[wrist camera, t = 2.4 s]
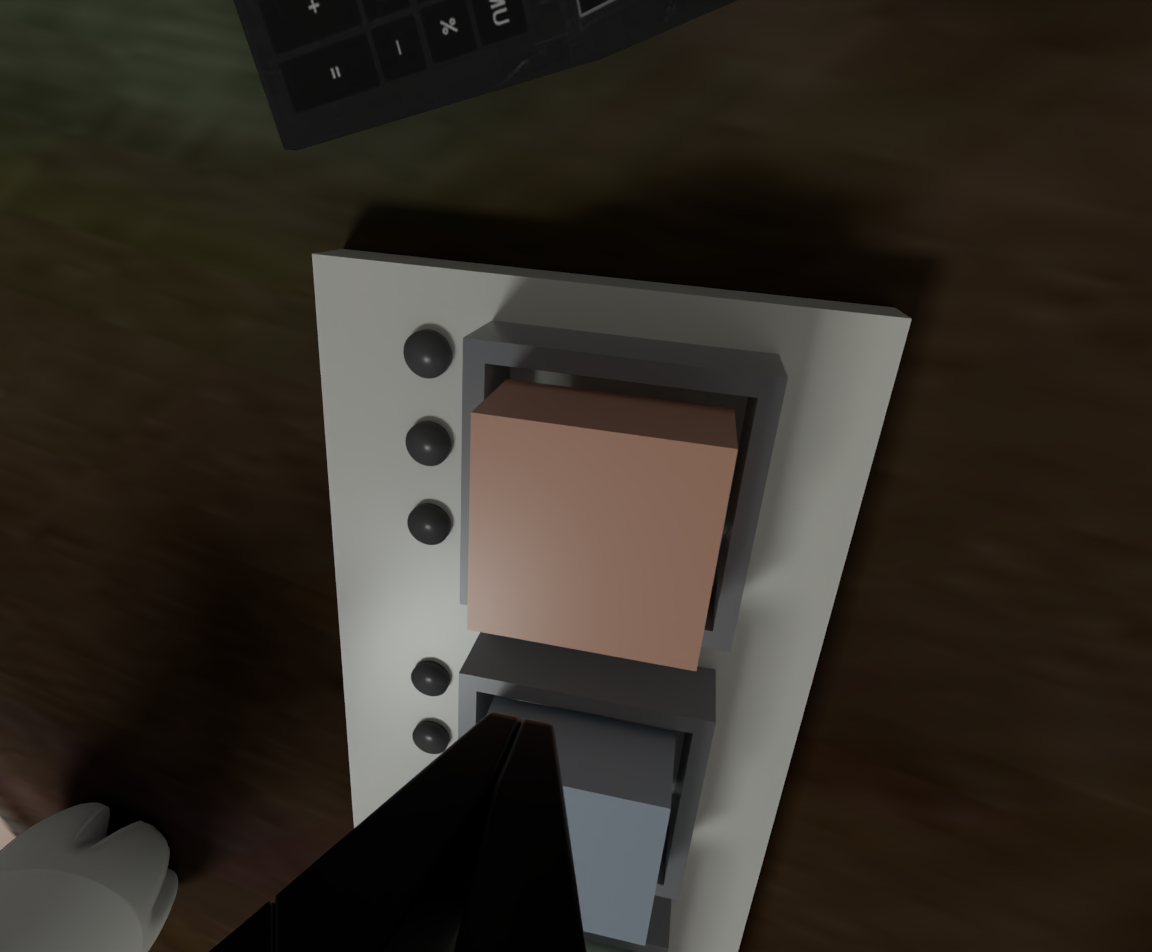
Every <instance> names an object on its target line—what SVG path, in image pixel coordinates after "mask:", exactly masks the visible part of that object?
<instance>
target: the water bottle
mask: <svg viewBox="0 0 1152 952" xmlns="http://www.w3.org/2000/svg"><path fill="white" fill-rule="evenodd" d="M109 819H110V809H109V807H108V806H106V805H104V804H101V803H84V804H79V805H76V806H73V807H70V808H68V809H65V810H63V811H60V812H58V813H56V814H54V815H52V816H50V817H48V818H46V819H44V820H42V821H41V822H39V823H37V824H35V825H34V826H32V827H31V828H29V829H28V830H26V831H25V832H23V833H22V834H20V835H19V836H17V837H16V838H15V839H14V840H12V841H11V842H10V843H9V844H7V845H6V846H5V847H4V848H3V849H2V850H0V952H148V951H149V949H150V948H151V946H152V945H153V943H154V942H155V940H156V938H157V937H158V935H159V933H160V931H161V929H162V927H163V925H164V923H165V921H166V919H167V917H168V915H169V912H170V910H171V907H172V904H173V902H174V899H175V896H176V893H177V887H178V878H177V875H176V873H175V872H174V871H173V870H171V869H168V868H167V867H168V863H169V856H170V849H169V847H168V845H167V841H166V839H165V837H164V836H163V835H162V834H161V833H160V832H159V831H158V830H157V829H156V828H155V827H154V826H153V825H151V824H148V823H144V822H143V821H137V822H135V823H132V824H130V825H128V826H126V827H124V828H122V829H120V830H118V831H116V832H114V833H112V834H111V835H109V836H107V837H106V835H107V829H108V823H109Z"/></svg>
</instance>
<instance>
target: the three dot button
mask: <svg viewBox="0 0 1152 952" xmlns="http://www.w3.org/2000/svg"><path fill="white" fill-rule="evenodd" d="M737 452H738V444H737V433H736V422H735V411H734V408H727V407H719V406H712V405H704V404H696V403H689V402H681V401H673V400H665V399H658V398H650V397H642V396H635V395H627V394H619V393H611V392H604V391H596V390H588V389H580V388H573V387H565V386H557V385H550V384H542V383H534V382H526V381H519V380H511V379H507V380H505V381H504V382H503V383H502V384H501V385H500V386H499V387H498V388H497V389H496V390H495V391H494V392H492V393H491V394H490V395H489V396H488V397H487V398H486V399H485V400H484V401H483V402H482V403H481V404H479V405H478V406H477V407H476V408H475V409H474V410H473V411H472V412H471V433H470V490H469V546H468V603H467V630H473V631H478V632H484V633H489V634H494V635H500V636H505V637H511V638H516V639H522V640H527V641H533V642H538V643H544V644H549V645H554V646H560V647H565V648H571V649H576V650H582V651H587V652H593V653H598V654H604V655H609V656H614V657H620V658H625V659H631V660H636V661H642V662H647V663H653V664H658V665H664V666H669V667H675V668H680V669H685V670H691V671H697V666H698V660H699V655H700V650H701V644H702V639H703V634H704V628H705V623H706V618H707V612H708V607H709V602H710V596H711V591H712V586H713V580H714V575H715V570H716V564H717V559H718V553H719V548H720V543H721V537H722V532H723V527H724V521H725V516H726V511H727V505H728V500H729V495H730V489H731V484H732V479H733V473H734V468H735V463H736V457H737Z"/></svg>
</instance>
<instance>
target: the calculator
mask: <svg viewBox="0 0 1152 952" xmlns="http://www.w3.org/2000/svg"><path fill="white" fill-rule="evenodd" d="M734 1H736V0H234V3H235V6H236V9H237V12H238V15H239V18H240V20H241V23H242V26H243V29H244V32H245V35H246V38H247V41H248V44H249V47H250V50H251V53H252V56H253V59H254V62H255V65H256V68H257V70H258V73H259V76H260V79H261V82H262V85H263V88H264V91H265V94H266V97H267V100H268V103H269V106H270V109H271V112H272V115H273V117H274V120H275V123H276V126H277V129H278V132H279V135H280V138H281V141H282V144H283V147H284V149H287V150H299V149H303V148H306V147H309V146H313V145H316V144H319V143H323V142H326V141H329V140H333V139H336V138H339V137H343V136H346V135H349V134H353V133H356V132H359V131H363V130H366V129H369V128H372V127H376V126H379V125H382V124H386V123H389V122H392V121H396V120H399V119H402V118H406V117H409V116H412V115H416V114H419V113H422V112H426V111H429V110H432V109H436V108H439V107H442V106H446V105H449V104H452V103H456V102H459V101H462V100H466V99H469V98H472V97H475V96H479V95H482V94H485V93H489V92H492V91H495V90H499V89H502V88H505V87H509V86H512V85H515V84H519V83H522V82H525V81H529V80H532V79H535V78H539V77H542V76H545V75H549V74H552V73H555V72H559V71H562V70H565V69H569V68H572V67H575V66H578V65H582V64H585V63H588V62H592V61H595V60H598V59H602V58H604V57H606V56H609V55H611V54H613V53H616V52H618V51H620V50H623V49H625V48H627V47H630V46H632V45H634V44H636V43H639V42H641V41H643V40H646V39H648V38H650V37H653V36H655V35H657V34H660V33H662V32H664V31H667V30H669V29H671V28H674V27H676V26H678V25H681V24H683V23H685V22H688V21H690V20H692V19H695V18H697V17H699V16H702V15H704V14H706V13H708V12H711V11H713V10H715V9H718V8H720V7H722V6H725V5H727V4H729V3H732V2H734Z"/></svg>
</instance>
